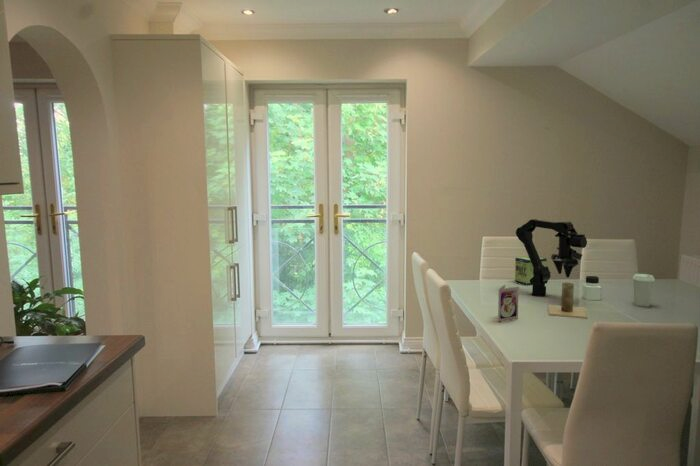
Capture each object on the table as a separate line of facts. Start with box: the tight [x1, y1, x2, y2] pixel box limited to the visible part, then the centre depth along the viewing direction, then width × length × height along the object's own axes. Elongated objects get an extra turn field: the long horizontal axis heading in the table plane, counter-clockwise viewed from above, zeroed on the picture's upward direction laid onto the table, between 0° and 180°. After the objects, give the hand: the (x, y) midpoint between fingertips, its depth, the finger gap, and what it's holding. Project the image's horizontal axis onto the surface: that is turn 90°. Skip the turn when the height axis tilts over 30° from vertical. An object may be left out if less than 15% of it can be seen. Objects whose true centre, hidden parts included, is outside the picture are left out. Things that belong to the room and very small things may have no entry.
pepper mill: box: [560, 282, 575, 312], centre depth 220 cm, size 5×5×13 cm
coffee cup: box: [631, 273, 656, 308], centre depth 230 cm, size 10×10×15 cm
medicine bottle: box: [582, 275, 602, 301], centre depth 244 cm, size 7×7×12 cm
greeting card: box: [497, 284, 520, 323], centre depth 211 cm, size 11×7×15 cm, turn 113°
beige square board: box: [548, 304, 588, 319], centre depth 220 cm, size 16×16×1 cm
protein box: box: [514, 256, 548, 286], centre depth 283 cm, size 10×16×16 cm
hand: (563, 275), depth 241 cm, fingers open, 9 cm apart
